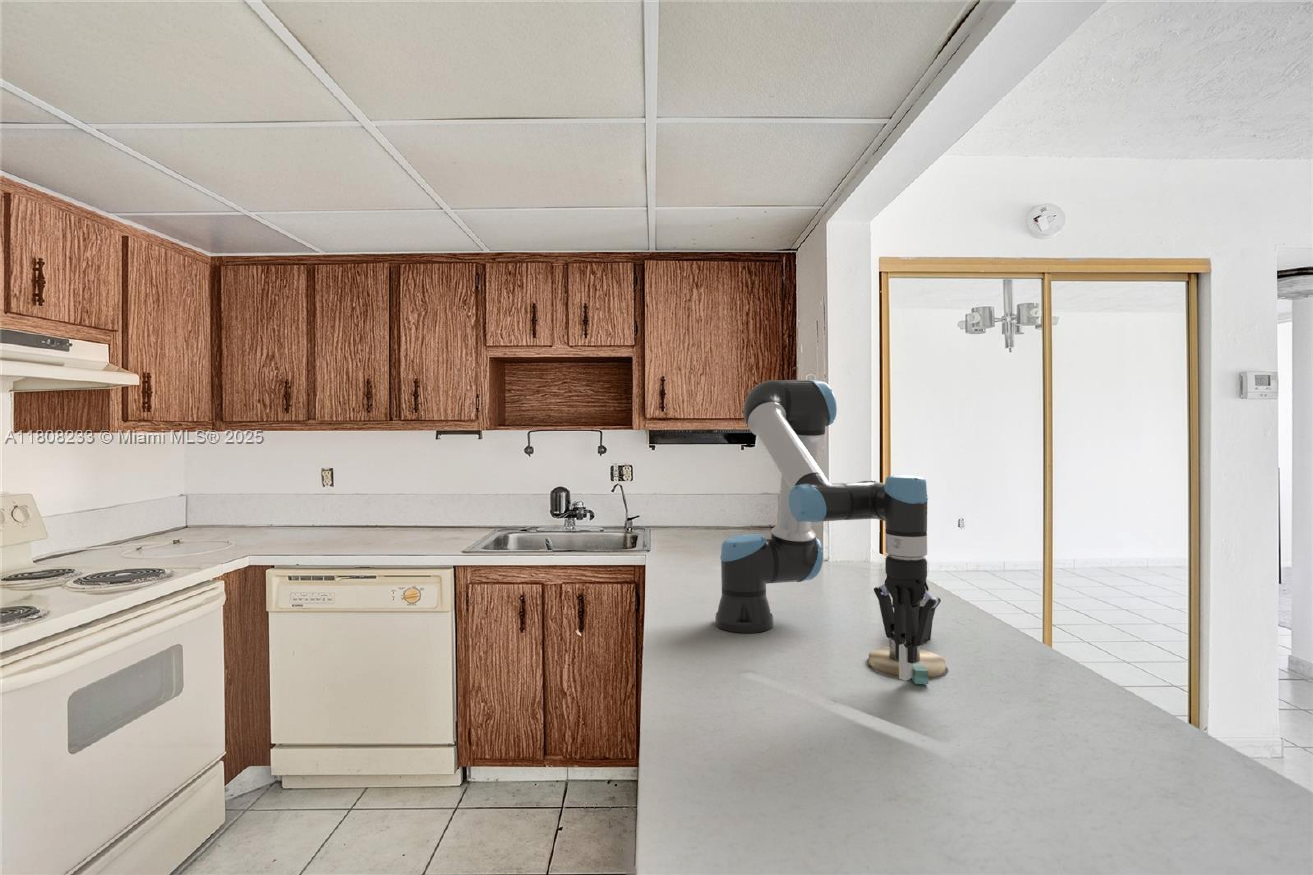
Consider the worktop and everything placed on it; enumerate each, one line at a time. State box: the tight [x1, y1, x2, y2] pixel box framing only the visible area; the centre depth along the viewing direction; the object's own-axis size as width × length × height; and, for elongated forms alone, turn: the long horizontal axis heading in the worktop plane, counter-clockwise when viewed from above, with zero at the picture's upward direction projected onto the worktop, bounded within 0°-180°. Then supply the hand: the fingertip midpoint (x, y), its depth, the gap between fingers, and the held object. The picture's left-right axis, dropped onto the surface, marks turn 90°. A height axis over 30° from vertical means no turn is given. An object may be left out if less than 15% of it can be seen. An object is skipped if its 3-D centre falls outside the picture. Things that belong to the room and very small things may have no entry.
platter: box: [868, 646, 947, 685], centre depth 134 cm, size 19×15×3 cm
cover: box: [888, 638, 921, 663], centre depth 136 cm, size 6×6×5 cm
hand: (906, 677), depth 125 cm, fingers closed
